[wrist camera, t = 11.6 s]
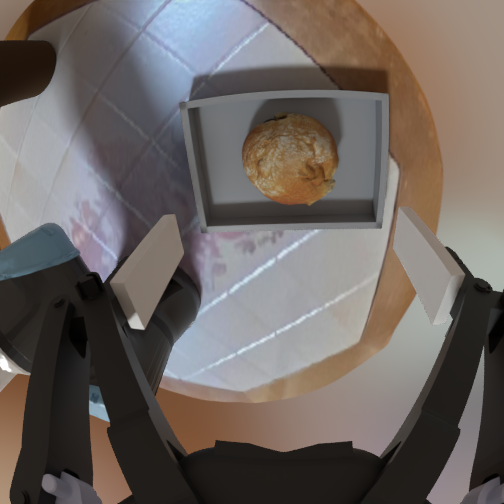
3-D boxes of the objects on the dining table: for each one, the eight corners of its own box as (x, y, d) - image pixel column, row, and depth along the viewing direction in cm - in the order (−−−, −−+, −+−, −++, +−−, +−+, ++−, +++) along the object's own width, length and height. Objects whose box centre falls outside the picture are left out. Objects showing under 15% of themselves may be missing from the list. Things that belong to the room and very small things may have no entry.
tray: (207, 221, 36) (201, 232, 34) (188, 101, 28) (179, 103, 25) (375, 217, 33) (381, 228, 30) (379, 93, 25) (388, 93, 22)
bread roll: (314, 109, 29) (304, 82, 22) (355, 185, 30) (359, 178, 22) (243, 146, 33) (215, 131, 26) (279, 220, 33) (259, 225, 26)
